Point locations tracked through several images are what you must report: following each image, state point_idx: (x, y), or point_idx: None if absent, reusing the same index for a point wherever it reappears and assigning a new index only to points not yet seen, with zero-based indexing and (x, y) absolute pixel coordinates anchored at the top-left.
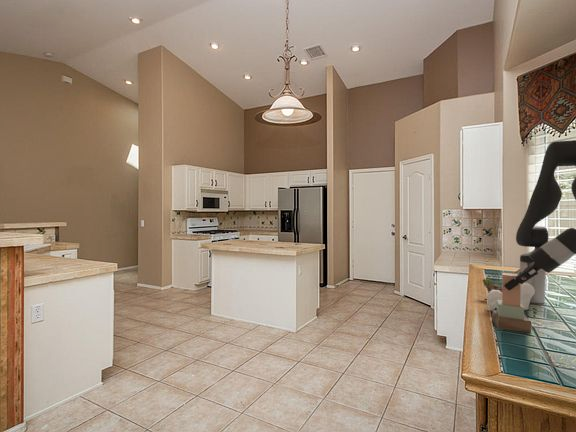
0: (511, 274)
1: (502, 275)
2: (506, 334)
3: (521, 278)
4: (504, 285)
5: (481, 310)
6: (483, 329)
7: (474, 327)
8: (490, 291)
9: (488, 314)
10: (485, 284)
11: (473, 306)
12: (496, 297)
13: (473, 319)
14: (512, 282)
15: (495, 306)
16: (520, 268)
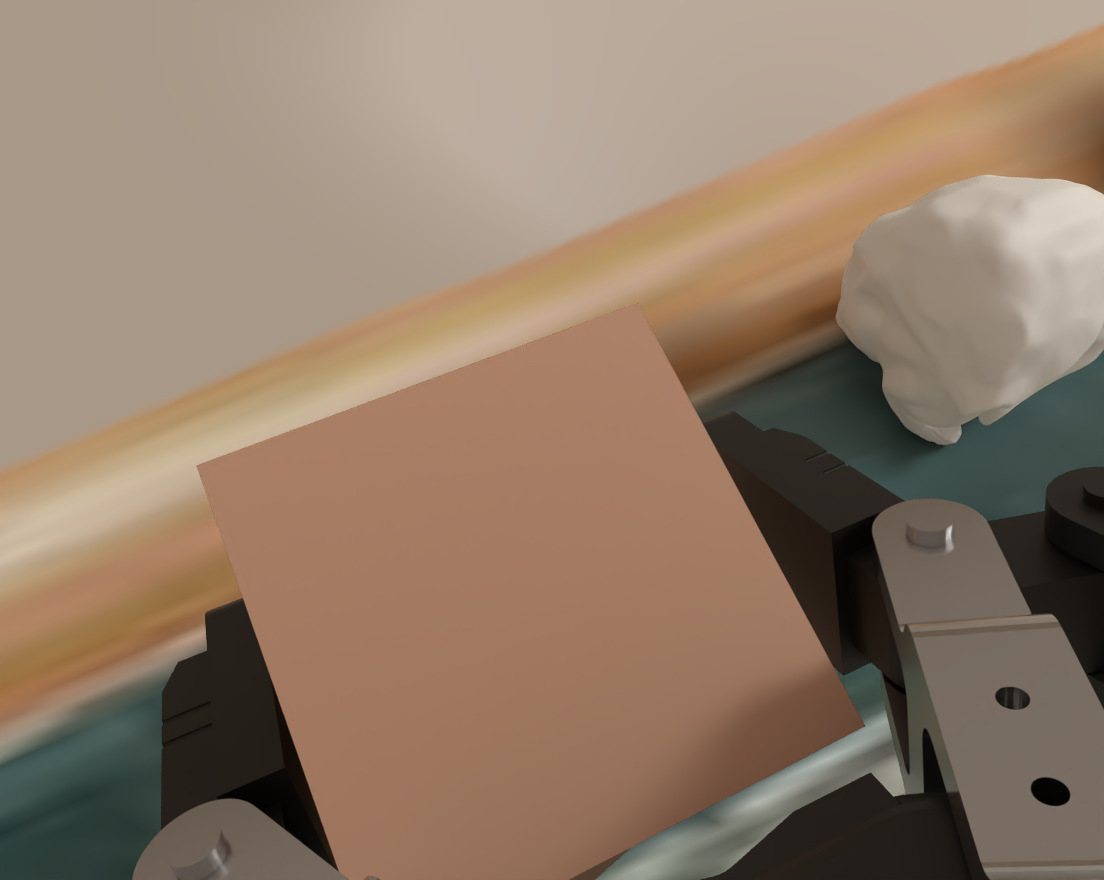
0: (532, 598)
1: (203, 472)
2: (79, 849)
3: (896, 742)
4: (206, 616)
5: (778, 271)
6: (44, 608)
7: (33, 518)
8: (969, 193)
9: (699, 379)
10: None
11: (844, 162)
12: (917, 316)
13: (342, 376)
14: (172, 806)
15: (878, 357)
16: (1000, 716)
